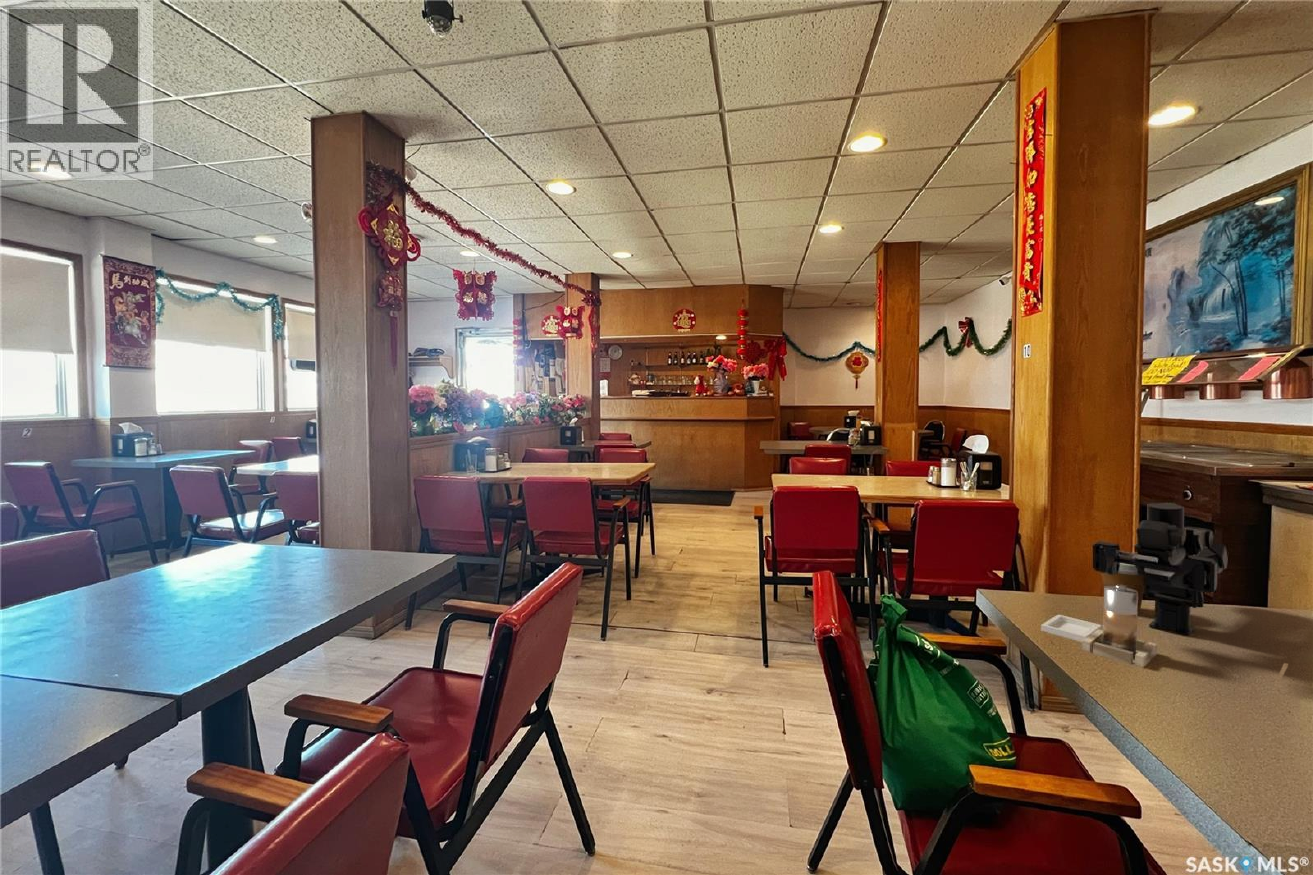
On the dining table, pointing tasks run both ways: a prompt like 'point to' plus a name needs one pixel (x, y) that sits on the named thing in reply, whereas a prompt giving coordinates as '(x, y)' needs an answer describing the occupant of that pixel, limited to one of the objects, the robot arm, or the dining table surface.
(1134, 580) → the disposable coffee cup
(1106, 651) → the tray
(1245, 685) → the dining table surface
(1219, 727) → the dining table surface
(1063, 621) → the tray
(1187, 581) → the robot arm
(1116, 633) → the battery cell
